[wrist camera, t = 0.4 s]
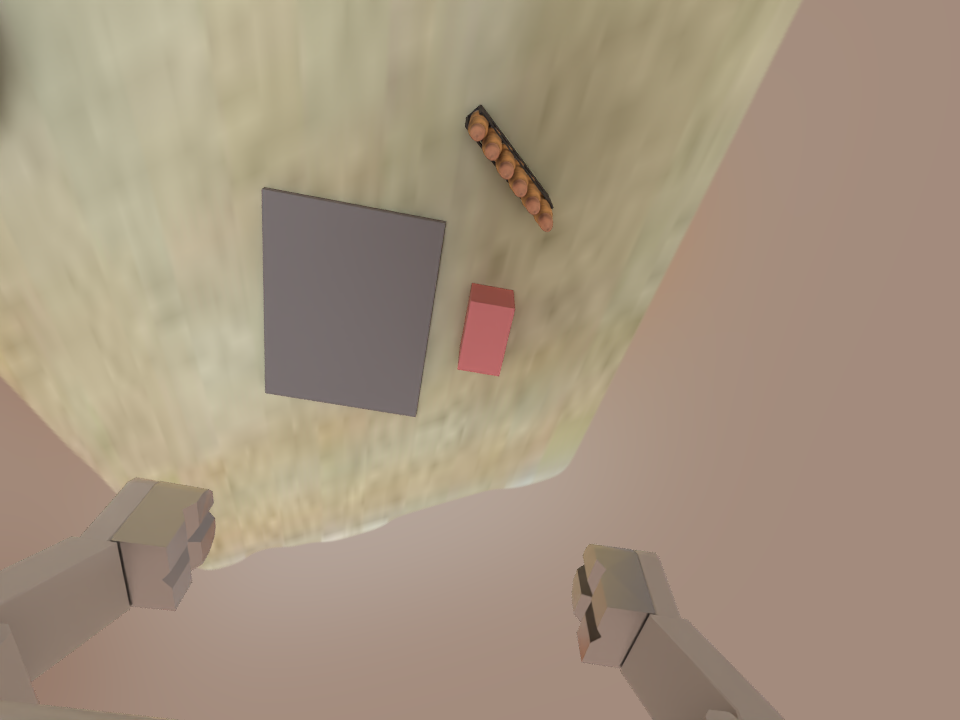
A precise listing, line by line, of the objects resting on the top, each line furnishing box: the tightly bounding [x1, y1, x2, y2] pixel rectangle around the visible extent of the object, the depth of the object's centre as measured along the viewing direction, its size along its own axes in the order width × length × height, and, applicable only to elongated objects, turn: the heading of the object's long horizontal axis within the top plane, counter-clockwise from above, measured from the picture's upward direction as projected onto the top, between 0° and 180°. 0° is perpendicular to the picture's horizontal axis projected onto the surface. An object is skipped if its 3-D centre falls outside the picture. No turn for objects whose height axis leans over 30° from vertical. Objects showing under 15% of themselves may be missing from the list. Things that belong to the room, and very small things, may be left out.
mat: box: [262, 187, 446, 417], centre depth 58 cm, size 24×18×1 cm
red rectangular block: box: [458, 283, 515, 376], centre depth 57 cm, size 8×4×5 cm, turn 170°
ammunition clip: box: [465, 105, 553, 232], centre depth 45 cm, size 11×2×12 cm, turn 39°
